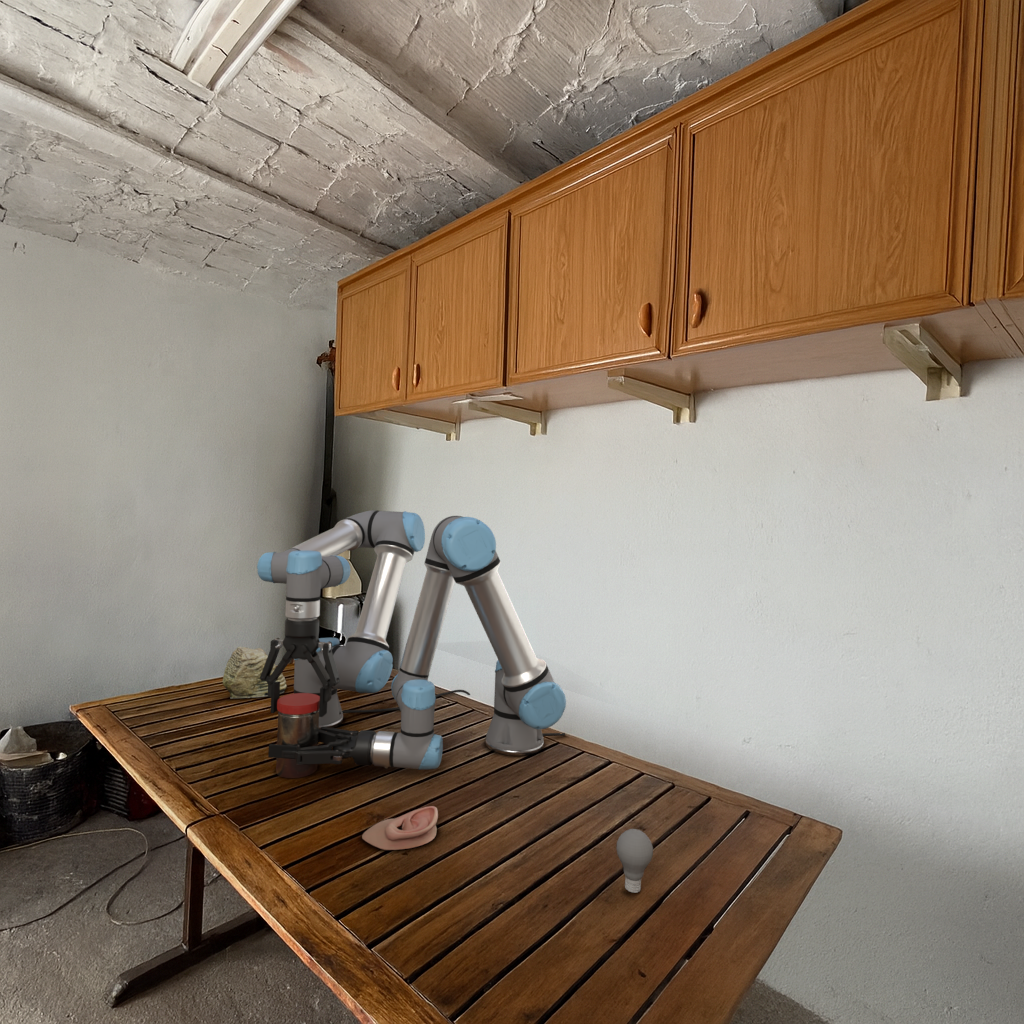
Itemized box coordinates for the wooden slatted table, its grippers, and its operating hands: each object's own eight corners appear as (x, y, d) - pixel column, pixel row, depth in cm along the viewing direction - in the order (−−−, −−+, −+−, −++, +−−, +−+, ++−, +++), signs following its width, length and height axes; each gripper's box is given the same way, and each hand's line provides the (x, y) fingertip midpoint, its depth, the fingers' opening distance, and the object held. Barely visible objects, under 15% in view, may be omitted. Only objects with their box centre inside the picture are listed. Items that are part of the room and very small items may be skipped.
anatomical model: (355, 823, 115) (380, 795, 127) (354, 845, 116) (380, 815, 127) (424, 834, 113) (444, 804, 124) (423, 856, 113) (443, 824, 124)
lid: (287, 699, 151) (287, 691, 151) (326, 702, 151) (327, 694, 151) (269, 713, 141) (270, 704, 141) (311, 715, 141) (312, 707, 141)
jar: (270, 778, 141) (273, 709, 141) (282, 761, 150) (285, 696, 150) (311, 778, 142) (314, 710, 142) (321, 762, 151) (323, 697, 151)
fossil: (218, 695, 195) (220, 647, 195) (278, 685, 208) (279, 640, 207) (228, 703, 189) (230, 653, 188) (289, 692, 201) (290, 645, 201)
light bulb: (610, 879, 108) (613, 822, 108) (644, 879, 109) (647, 822, 109) (619, 902, 102) (622, 840, 102) (655, 901, 103) (658, 840, 103)
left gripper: (245, 617, 143) (242, 714, 143) (345, 624, 141) (341, 722, 141) (262, 612, 150) (258, 704, 151) (357, 618, 148) (353, 711, 149)
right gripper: (360, 785, 135) (256, 779, 136) (385, 746, 156) (295, 740, 157) (361, 750, 134) (257, 744, 135) (386, 716, 156) (297, 710, 157)
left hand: (298, 713), depth 146 cm, fingers open, 11 cm apart
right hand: (278, 742), depth 146 cm, fingers closed on jar, 9 cm apart
